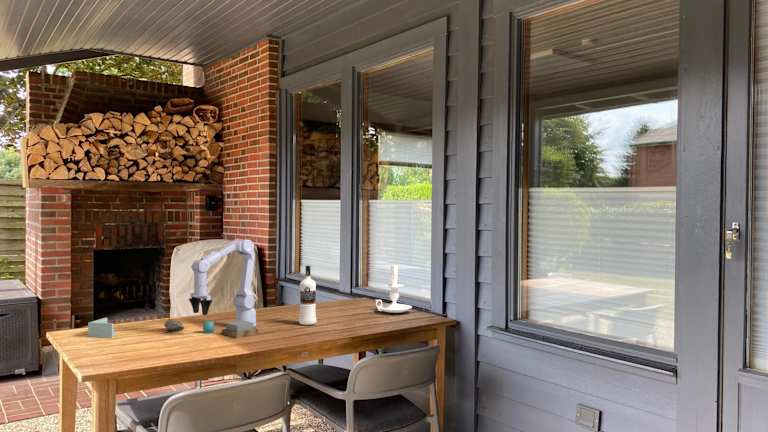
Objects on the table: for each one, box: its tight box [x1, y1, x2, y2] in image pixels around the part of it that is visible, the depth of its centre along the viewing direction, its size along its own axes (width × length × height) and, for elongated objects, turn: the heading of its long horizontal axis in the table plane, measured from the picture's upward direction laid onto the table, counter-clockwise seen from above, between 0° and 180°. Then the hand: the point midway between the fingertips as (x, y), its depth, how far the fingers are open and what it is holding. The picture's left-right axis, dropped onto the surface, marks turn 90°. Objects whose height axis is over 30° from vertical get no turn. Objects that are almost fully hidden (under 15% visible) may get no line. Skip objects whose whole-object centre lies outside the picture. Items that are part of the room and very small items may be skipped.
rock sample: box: [163, 318, 185, 332], centre depth 278 cm, size 10×8×9 cm
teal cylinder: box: [202, 320, 215, 335], centre depth 276 cm, size 5×5×5 cm
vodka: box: [298, 265, 318, 326], centre depth 300 cm, size 9×9×30 cm
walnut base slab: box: [221, 327, 259, 339], centre depth 273 cm, size 12×12×3 cm
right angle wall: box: [87, 317, 117, 339], centre depth 266 cm, size 12×12×8 cm
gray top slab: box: [225, 320, 255, 332], centre depth 273 cm, size 9×9×3 cm
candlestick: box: [375, 264, 413, 314], centre depth 333 cm, size 21×25×28 cm
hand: (200, 313), depth 273 cm, fingers open, 7 cm apart
